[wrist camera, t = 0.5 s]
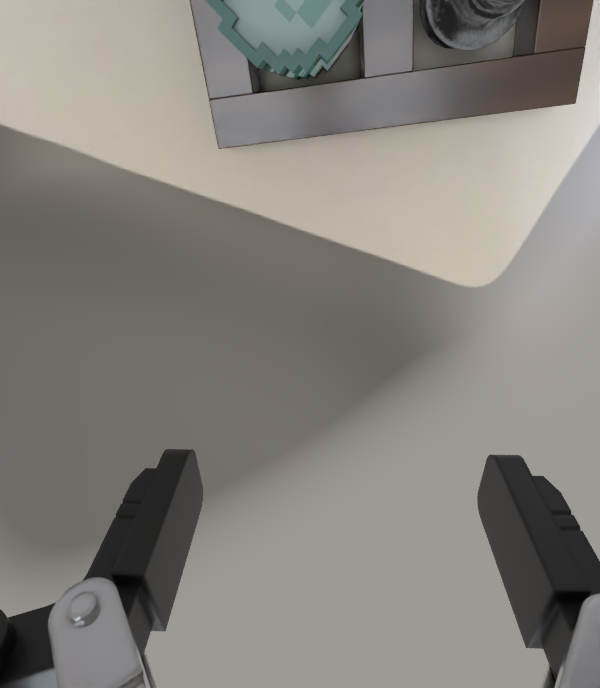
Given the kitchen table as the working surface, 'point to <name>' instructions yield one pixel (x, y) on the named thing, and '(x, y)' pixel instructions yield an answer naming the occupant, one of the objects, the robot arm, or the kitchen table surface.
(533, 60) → the stand
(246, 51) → the can
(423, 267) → the kitchen table surface
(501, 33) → the grey turned piece
